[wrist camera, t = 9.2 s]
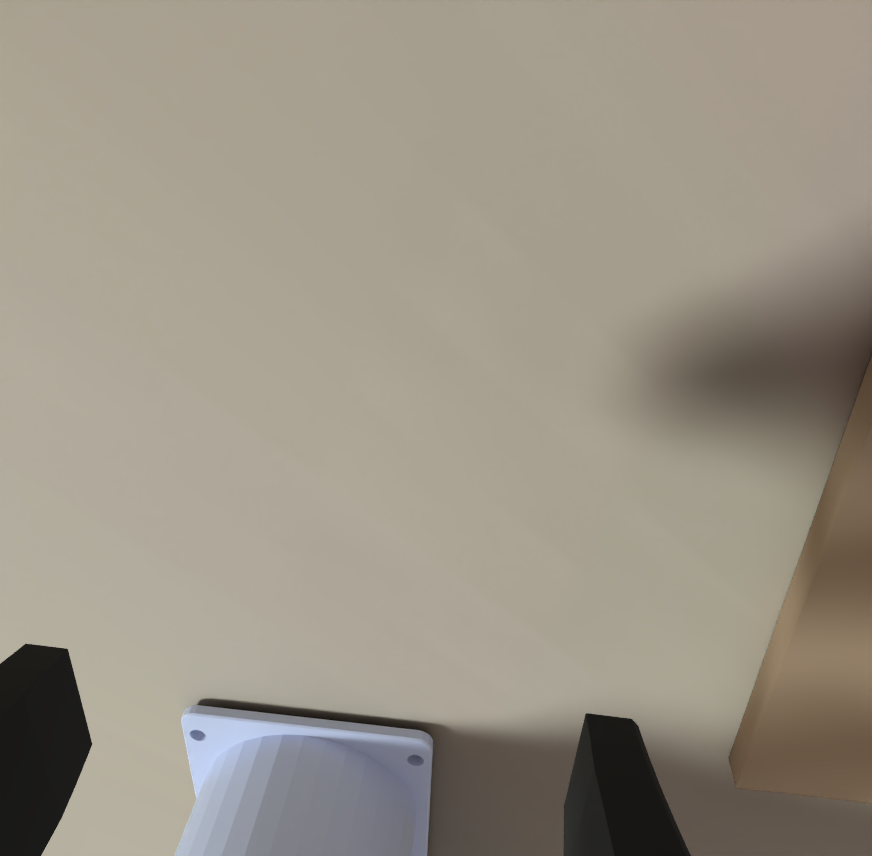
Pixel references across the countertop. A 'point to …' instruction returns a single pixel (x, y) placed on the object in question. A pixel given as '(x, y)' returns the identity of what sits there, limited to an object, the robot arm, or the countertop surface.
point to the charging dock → (821, 646)
